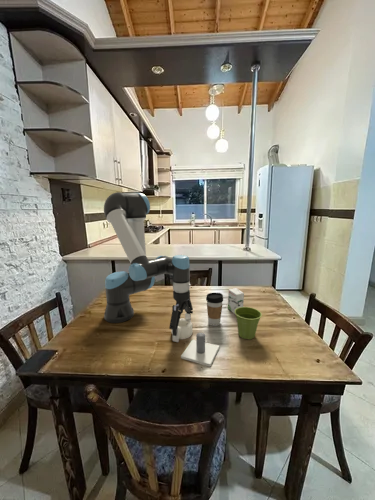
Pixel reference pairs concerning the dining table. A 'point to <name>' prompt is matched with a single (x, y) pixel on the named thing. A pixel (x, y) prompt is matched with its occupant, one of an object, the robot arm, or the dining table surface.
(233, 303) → the ink box
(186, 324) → the collar
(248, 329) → the plant pot
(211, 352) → the white square plate
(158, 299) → the dining table surface
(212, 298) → the coffee cup
